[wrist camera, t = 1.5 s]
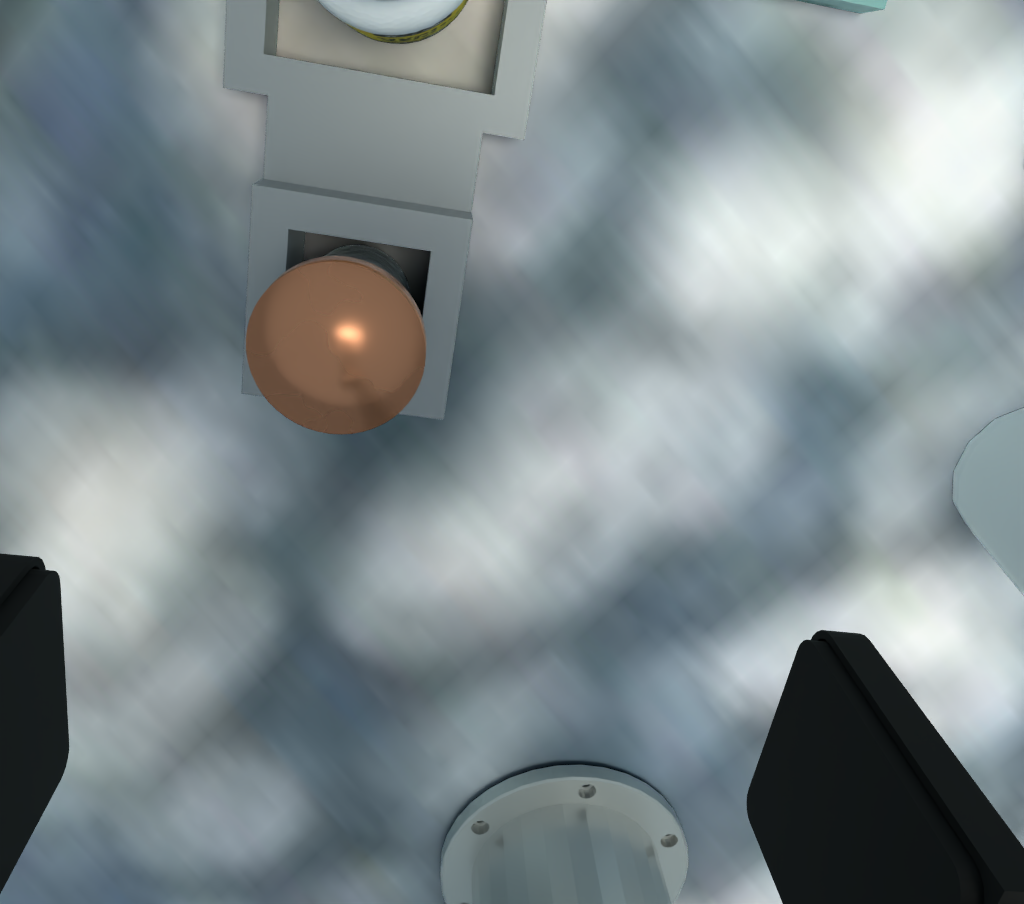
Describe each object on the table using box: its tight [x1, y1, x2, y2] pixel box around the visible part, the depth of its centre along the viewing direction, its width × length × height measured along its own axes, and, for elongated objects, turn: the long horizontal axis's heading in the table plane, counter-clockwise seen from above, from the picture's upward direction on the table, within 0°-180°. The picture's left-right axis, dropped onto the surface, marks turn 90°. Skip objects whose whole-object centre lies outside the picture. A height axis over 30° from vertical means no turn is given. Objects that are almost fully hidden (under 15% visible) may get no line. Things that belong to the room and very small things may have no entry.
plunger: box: [246, 245, 427, 434], centre depth 28 cm, size 5×5×7 cm
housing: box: [223, 0, 547, 420], centre depth 29 cm, size 19×10×4 cm, turn 171°
